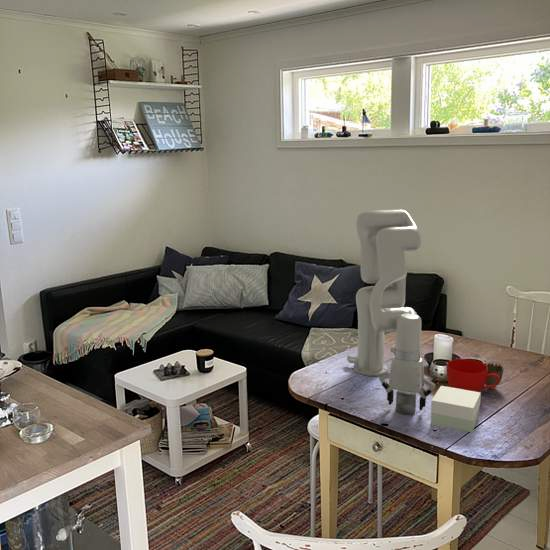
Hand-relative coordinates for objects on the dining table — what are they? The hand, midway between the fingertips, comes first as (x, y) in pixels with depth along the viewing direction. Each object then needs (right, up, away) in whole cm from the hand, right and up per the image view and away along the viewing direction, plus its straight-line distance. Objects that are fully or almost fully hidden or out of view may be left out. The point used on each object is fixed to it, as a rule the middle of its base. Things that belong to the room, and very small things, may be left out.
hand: (406, 405), depth 187 cm
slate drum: (0, -2, +1) cm, 2 cm away
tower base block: (+14, -3, -6) cm, 15 cm away
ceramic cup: (+24, +1, +11) cm, 26 cm away
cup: (+32, +2, +16) cm, 36 cm away
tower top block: (+14, +1, -7) cm, 15 cm away
